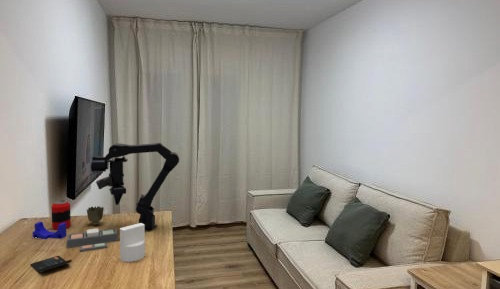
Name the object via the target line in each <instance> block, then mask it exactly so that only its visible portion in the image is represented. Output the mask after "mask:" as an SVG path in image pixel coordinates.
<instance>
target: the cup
mask: <svg viewBox="0 0 500 289" xmlns="http://www.w3.org/2000/svg"><path fill="white" fill-rule="evenodd" d="M86 213H87V219H88V221H89V222H91V225H92V226H99V225H100V223H101V222H100V221H101V220H103V217H104V206H100V205H99V206H98V205H97V206H94V207H93V206H90V207H88V208H87V209H86Z"/></svg>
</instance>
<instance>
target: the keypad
mask: <svg viewBox="0 0 500 289" xmlns="http://www.w3.org/2000/svg"><path fill="white" fill-rule="evenodd" d="M107 230H113V231H114V234H107V235H102V231H107ZM98 231H99V236H91V237H87V231H83V232H77V233H68V234H67V236H66V237H67V239H66V245H65V248H66V249H70V248H78V247H82V246H87V245H95V244H101V243H111V242H117V241H118V242H120V239H119V236H118V231H117V228H109V229H108V228H107V229H100V230H99V229H98ZM75 234H83V238H76V239H71V235H75Z"/></svg>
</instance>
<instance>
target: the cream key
mask: <svg viewBox="0 0 500 289" xmlns="http://www.w3.org/2000/svg"><path fill="white" fill-rule="evenodd" d="M86 232H87V237H91V236H99V228H92V229H87V230H86Z"/></svg>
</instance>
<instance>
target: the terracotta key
mask: <svg viewBox="0 0 500 289" xmlns="http://www.w3.org/2000/svg"><path fill="white" fill-rule="evenodd" d="M74 234H75V233H74ZM76 238H83V234H75V235H71V239H76Z"/></svg>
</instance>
